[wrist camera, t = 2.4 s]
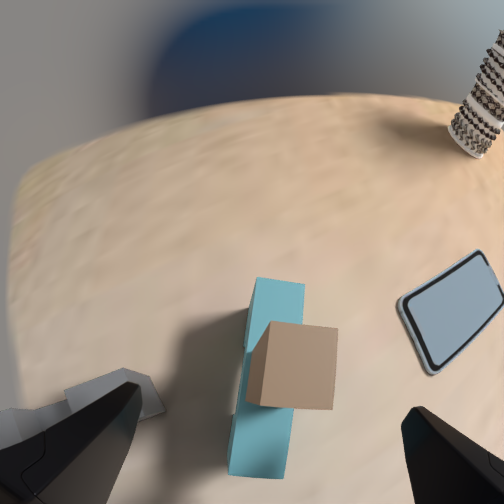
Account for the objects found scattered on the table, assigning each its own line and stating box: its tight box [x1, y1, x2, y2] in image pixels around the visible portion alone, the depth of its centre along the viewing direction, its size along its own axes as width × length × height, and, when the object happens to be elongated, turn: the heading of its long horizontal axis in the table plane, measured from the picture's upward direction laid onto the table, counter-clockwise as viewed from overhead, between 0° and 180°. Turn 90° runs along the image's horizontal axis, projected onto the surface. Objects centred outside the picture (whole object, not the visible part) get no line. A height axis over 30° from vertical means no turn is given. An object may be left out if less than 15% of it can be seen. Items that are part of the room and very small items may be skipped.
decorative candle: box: [448, 30, 504, 159], centre depth 25 cm, size 9×9×25 cm
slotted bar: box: [0, 368, 166, 450], centre depth 11 cm, size 12×2×5 cm, turn 119°
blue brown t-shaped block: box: [227, 277, 338, 479], centre depth 12 cm, size 10×2×10 cm, turn 172°
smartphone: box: [398, 249, 504, 374], centre depth 20 cm, size 7×1×15 cm
